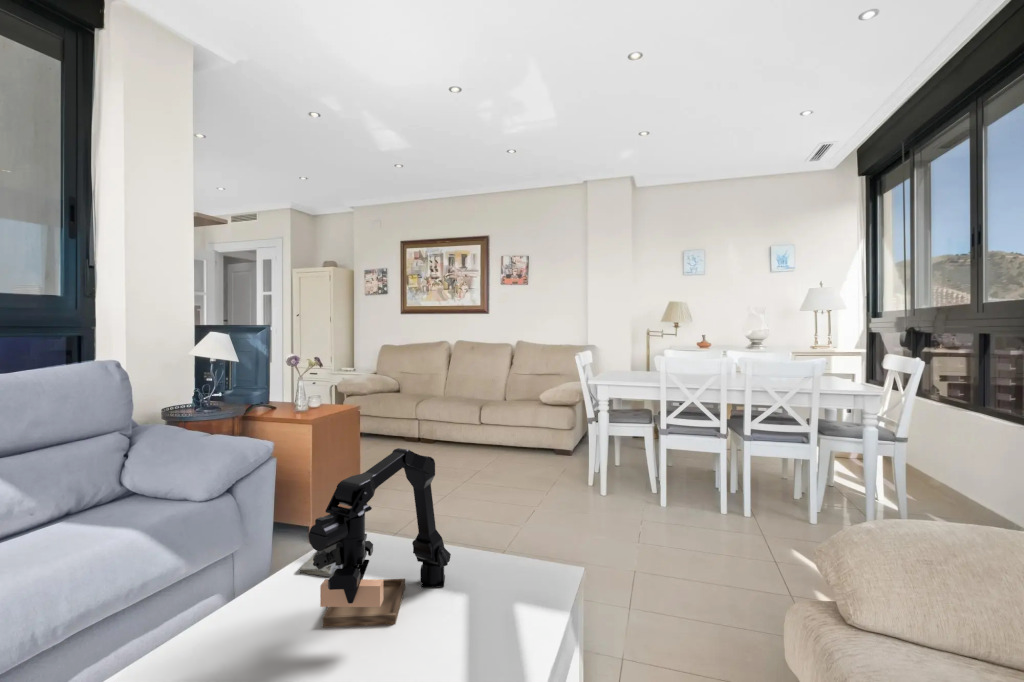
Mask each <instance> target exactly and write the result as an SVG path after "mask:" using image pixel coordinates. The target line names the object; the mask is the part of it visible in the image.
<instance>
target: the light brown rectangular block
mask: <svg viewBox="0 0 1024 682" xmlns="http://www.w3.org/2000/svg"><path fill="white" fill-rule="evenodd" d="M328 580H329V578H328V579H326V578H325V579H324V581H322V583H321V584H320V586H319V587H320V588H319V589H320V590H319V591H320V599H319V601H320V604H319V605H320V608H328V607H380V606H381V604H382V602H383V580H379V579H376V578H375V579H368V578H367V579H364V578H363V579H362V580H361V582H360V585H359V588H358V590H357V593H356V596H355V599H354V601H353V603H348V601H347V598H346V595H345V592H344V589H337V590H330V589H328Z"/></svg>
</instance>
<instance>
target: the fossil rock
mask: <svg viewBox="0 0 1024 682" xmlns="http://www.w3.org/2000/svg"><path fill="white" fill-rule="evenodd" d="M315 554H316V552H315V553H314V554H313V555H312V556H311V557H310V558H309V559H308V560H307V561H305V562H304V563H303V564H301V565H300V567H299V571H298V572H301V573H300V574H306V573H307V575H315V576H316V575H317V576H318V577H319V576H320V577H326V578H330V576H331V575H332V573H333V572H334V571H335V570H336V569H340V568H342V565H341V566H335V563H333V564H330V565H328V566H325V567H323V568H322V569H318V568H317V567H316V566H314V565H313V563H314V561H313V558H314V555H315Z"/></svg>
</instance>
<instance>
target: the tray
mask: <svg viewBox="0 0 1024 682" xmlns="http://www.w3.org/2000/svg"><path fill="white" fill-rule="evenodd" d="M379 580H383V602H382V604H381V606H380V607H327V609H326V611H325V613H324V614H323V617H322V628H331V627H332V628H334V627H336V628H337V627H358V626H381V625H396V623H397V620H398V616H399V612H400V609H401V604H402V600H403V596H404V593H405V590H406V589H405V588H406V578H388V579H387V578H383V579H379Z"/></svg>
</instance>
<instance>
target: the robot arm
mask: <svg viewBox="0 0 1024 682" xmlns="http://www.w3.org/2000/svg"><path fill="white" fill-rule="evenodd" d="M402 469H404V473H405V477H406V479H407V481H408V482H409V483H410V485H411V486H412V488H413V496H414V497H413V498H414V504H415V505H414V506H415V513H416V522H417V530H418V533H417V535H416V537H415V539H414V540H413V541H412V543H411V544H412V548H413V549H412V550H413V551H412V553H413V554H414V556H415V557H416V561H417V562H419V563H422V564H421V565H420V570H419V571H420V575H419V576H420V577H419V580H420V581H419V582H420V583H421V588H422V589H424V588H427V589H428V588H443V587H445V581H446V580H445V579H446V574H445V567H447V566H448V563H449V562H450V560H451V556H452V555H451V553H450V552H449V551H448V550H447V549H446V547H445V544H444V540H443V537H442V536H441V534H440V533H439V532H438V530H437V526H436V518H435V511H434V510H435V509H434V501H433V492H432V483H433V480H434V478H435V476H436V461H435V459H434V458H433V457H432V456H427V455H422V454H421V455H420V454H419V453H415V452H413V451H412V450H411V449H406V448H401V447H400V448H395V449H393V450H392V452H391V453H390V454H389V455H387V456H385V457H384V458H383V459H381V460H380V461H378V462H377V463H376V464H374V465H373V466H371V467H370V468H369V469H367V470H366V471H365V472H362V473H359V474H355V475H351V476H348V477H347V478H344V479H343V480H341V481H339V482H338V483H337V485H336V488H335V490H334V493H333V495H332V496H331V499H330V500H329V503H328V505H327V507H326V509H325V513H327V515H324V516H320V517H317V518H315V520H314V521H315V523H314V525H312V526H311V528H310V529H309V532H308V542H309V545H310V546H311V548H312V549H314V551H315V553H316V554H315V553H314V554H315V555H314V554H313V555H314V558H313V561H314V563H313V565H314V566H316V567H317V568H318V569H322V568H323V567H325V566H328V565H330V564H333V563H335V566H341V565H342V568H340V569H336V570H335V571H334V572H333V573H332V575H331V576H330V577H328V579H329V580H328V589H330V590H337V589H344V592H345V595H346V598H347V601H348V603H353V601H354V599H355V596H356V593H357V590H358V588H359V585H360V582H361V580H362V579H364V576H365V574H366V571H367V568H368V566H369V563H370V559H366V558H367V555H368V557H371V556H372V555H373V552H374V543H373V542H372V541H370V540H367V538H368V534H367V533H366V513H367V512H369V511H372V510H373V508H372V506H371V505H369V504H368V503H369V501H370V500H371V499H373V497H374V495H375V492H376V490H377V489H378V487H380V486H381V485H383V484H384V483H385V482H386V481H387V480H388V481H389V479H390V478H392V477H393V476H394V475H395V474H396V473H398V472H400V470H402ZM339 505H343V506H339ZM344 506H347V507H348V508H347V507H344Z"/></svg>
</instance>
